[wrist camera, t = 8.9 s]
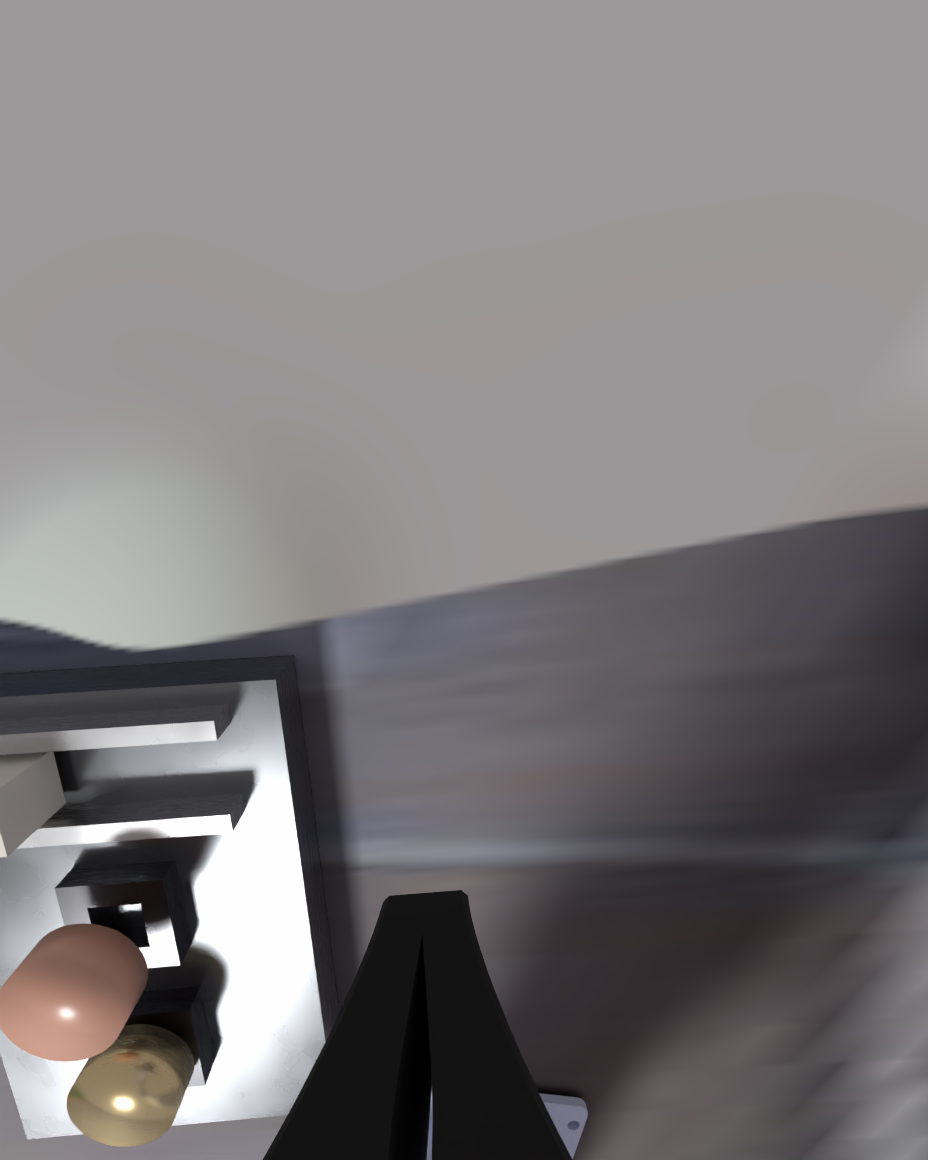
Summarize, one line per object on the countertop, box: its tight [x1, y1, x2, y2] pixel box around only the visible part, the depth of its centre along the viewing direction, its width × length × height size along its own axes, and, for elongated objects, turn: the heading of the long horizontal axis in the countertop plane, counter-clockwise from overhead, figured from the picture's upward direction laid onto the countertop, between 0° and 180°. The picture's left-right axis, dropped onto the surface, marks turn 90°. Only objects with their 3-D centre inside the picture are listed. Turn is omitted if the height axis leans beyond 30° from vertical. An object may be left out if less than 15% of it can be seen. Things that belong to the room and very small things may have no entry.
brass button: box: [67, 1024, 194, 1147], centre depth 17 cm, size 3×3×2 cm
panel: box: [0, 655, 339, 1139], centre depth 18 cm, size 17×11×3 cm, turn 3°
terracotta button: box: [0, 923, 148, 1062], centre depth 15 cm, size 3×3×2 cm
